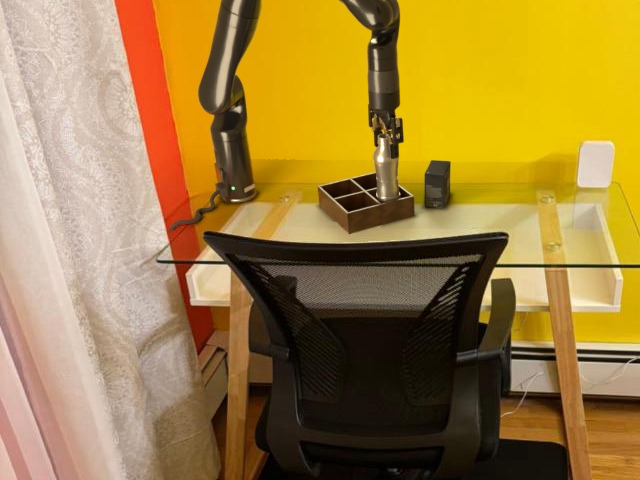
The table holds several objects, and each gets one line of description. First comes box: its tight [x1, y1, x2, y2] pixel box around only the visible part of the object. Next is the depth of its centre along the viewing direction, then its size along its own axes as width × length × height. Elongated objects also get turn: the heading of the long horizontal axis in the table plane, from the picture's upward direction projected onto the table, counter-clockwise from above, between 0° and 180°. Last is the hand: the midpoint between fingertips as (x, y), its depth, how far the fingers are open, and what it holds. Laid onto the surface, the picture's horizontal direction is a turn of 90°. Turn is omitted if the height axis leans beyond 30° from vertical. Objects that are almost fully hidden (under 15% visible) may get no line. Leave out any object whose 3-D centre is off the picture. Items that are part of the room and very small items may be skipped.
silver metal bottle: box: [372, 132, 401, 204], centre depth 199 cm, size 6×7×20 cm
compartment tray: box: [317, 171, 416, 235], centre depth 205 cm, size 19×19×6 cm
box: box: [423, 159, 452, 209], centre depth 207 cm, size 9×6×10 cm, turn 167°
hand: (386, 152), depth 195 cm, fingers open, 8 cm apart
